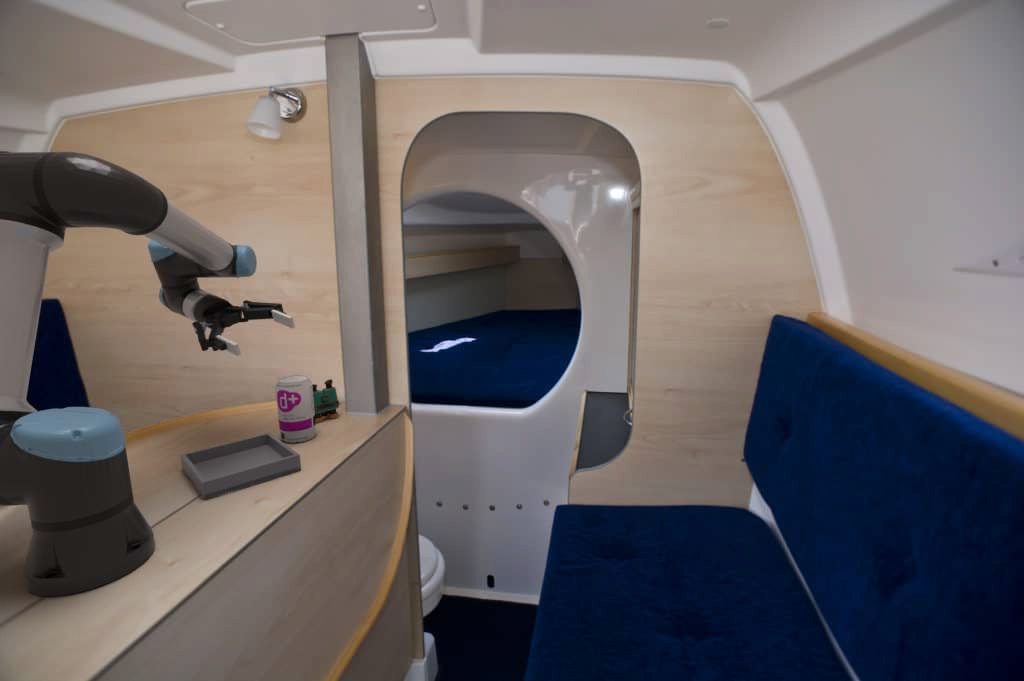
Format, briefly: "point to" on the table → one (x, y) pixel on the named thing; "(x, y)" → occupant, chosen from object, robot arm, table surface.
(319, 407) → the binoculars
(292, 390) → the supplement can
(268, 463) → the tray
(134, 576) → the table surface
